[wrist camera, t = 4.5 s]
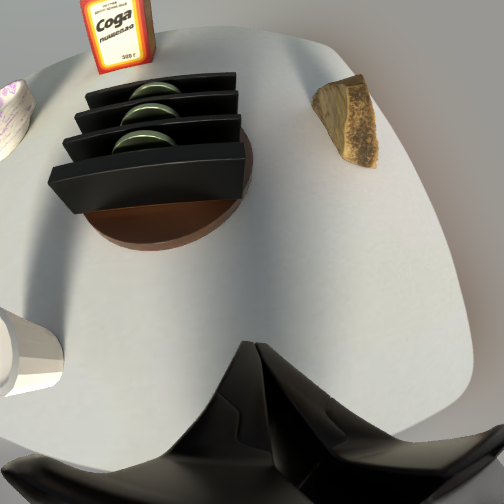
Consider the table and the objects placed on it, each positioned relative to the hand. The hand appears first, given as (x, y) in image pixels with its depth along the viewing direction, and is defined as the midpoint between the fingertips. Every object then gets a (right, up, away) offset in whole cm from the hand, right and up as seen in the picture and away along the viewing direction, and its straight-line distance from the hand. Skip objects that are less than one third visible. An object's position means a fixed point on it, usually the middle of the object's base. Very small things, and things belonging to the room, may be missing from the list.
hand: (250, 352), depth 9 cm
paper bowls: (-39, +21, +18) cm, 48 cm away
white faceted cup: (-19, -6, +9) cm, 22 cm away
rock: (+11, +18, +21) cm, 29 cm away
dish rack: (-9, +12, +15) cm, 21 cm away
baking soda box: (-21, +37, +26) cm, 50 cm away
